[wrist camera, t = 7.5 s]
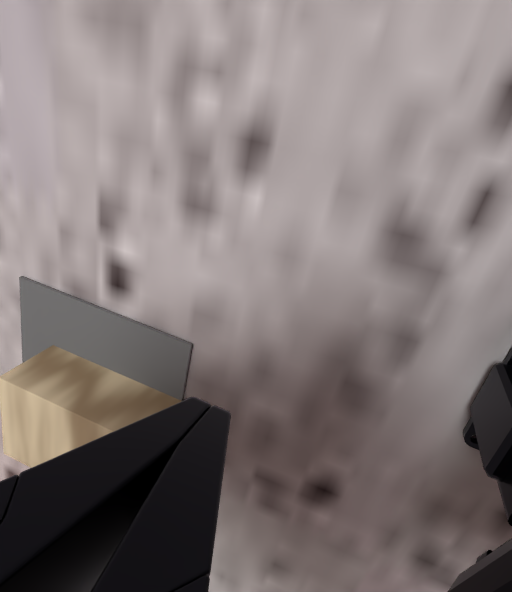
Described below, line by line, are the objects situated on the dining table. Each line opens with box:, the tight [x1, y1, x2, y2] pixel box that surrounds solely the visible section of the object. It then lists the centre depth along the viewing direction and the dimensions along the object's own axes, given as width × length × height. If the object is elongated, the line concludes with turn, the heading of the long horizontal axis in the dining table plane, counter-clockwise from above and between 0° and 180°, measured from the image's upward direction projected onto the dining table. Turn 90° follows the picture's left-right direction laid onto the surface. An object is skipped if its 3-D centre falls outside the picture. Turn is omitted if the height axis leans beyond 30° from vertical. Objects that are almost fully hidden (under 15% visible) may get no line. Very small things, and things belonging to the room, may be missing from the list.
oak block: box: [0, 345, 181, 468], centre depth 25 cm, size 4×6×10 cm
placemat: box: [19, 276, 193, 401], centre depth 27 cm, size 12×14×1 cm
